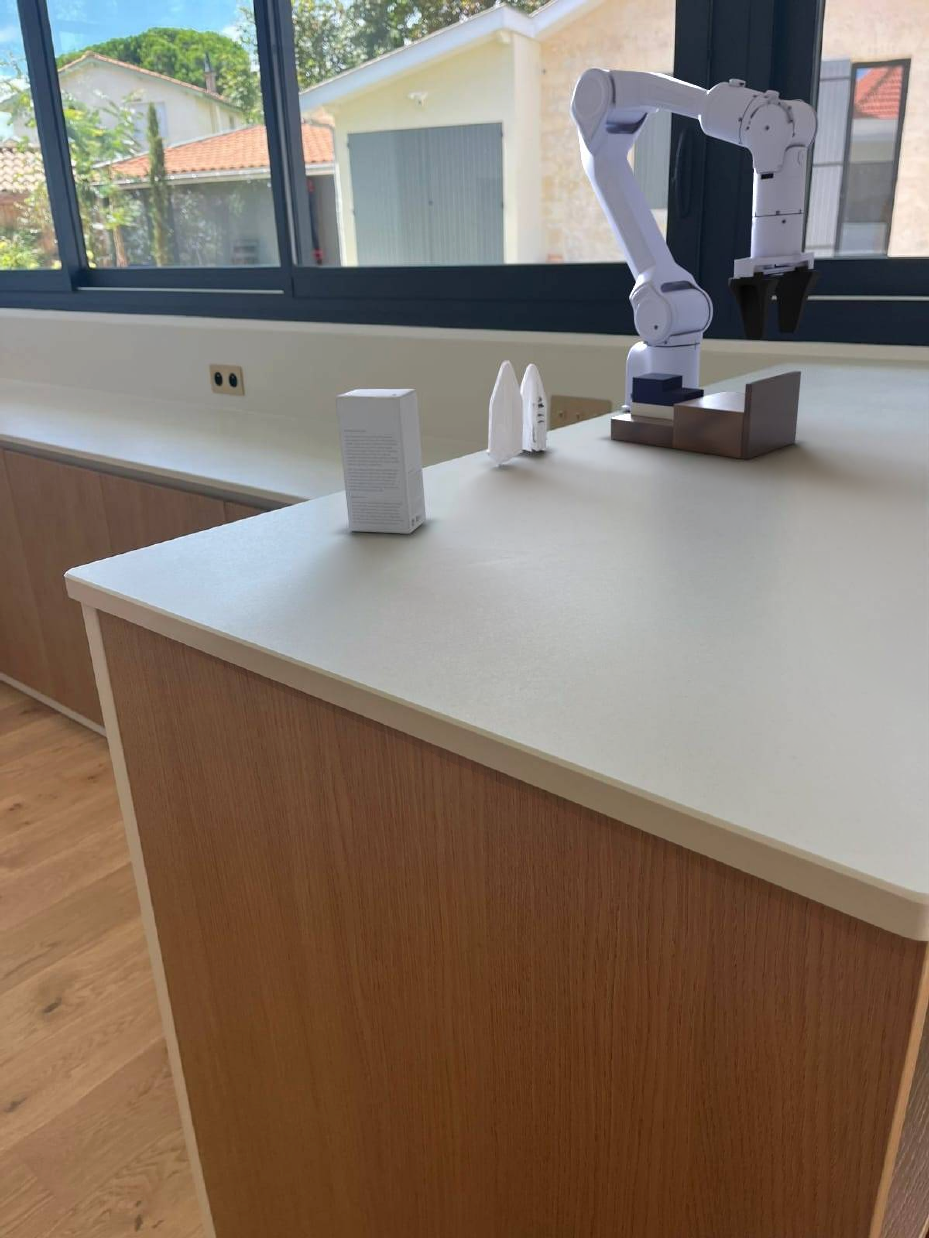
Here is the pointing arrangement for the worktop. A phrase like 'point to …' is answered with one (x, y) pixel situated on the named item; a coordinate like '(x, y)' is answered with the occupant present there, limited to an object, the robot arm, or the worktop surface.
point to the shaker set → (516, 414)
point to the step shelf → (724, 421)
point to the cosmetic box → (381, 459)
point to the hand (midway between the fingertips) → (771, 336)
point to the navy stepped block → (659, 395)
